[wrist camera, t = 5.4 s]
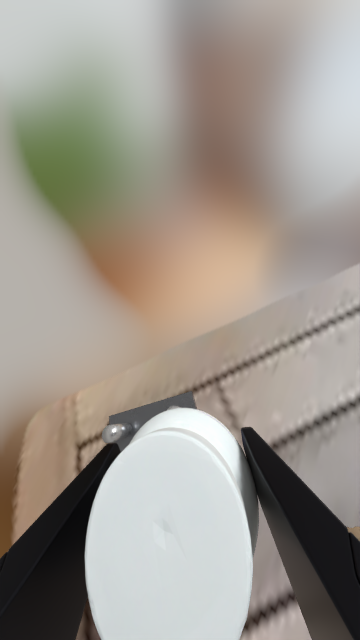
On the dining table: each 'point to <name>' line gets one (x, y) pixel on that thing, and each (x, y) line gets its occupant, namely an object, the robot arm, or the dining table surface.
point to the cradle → (141, 418)
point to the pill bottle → (173, 534)
